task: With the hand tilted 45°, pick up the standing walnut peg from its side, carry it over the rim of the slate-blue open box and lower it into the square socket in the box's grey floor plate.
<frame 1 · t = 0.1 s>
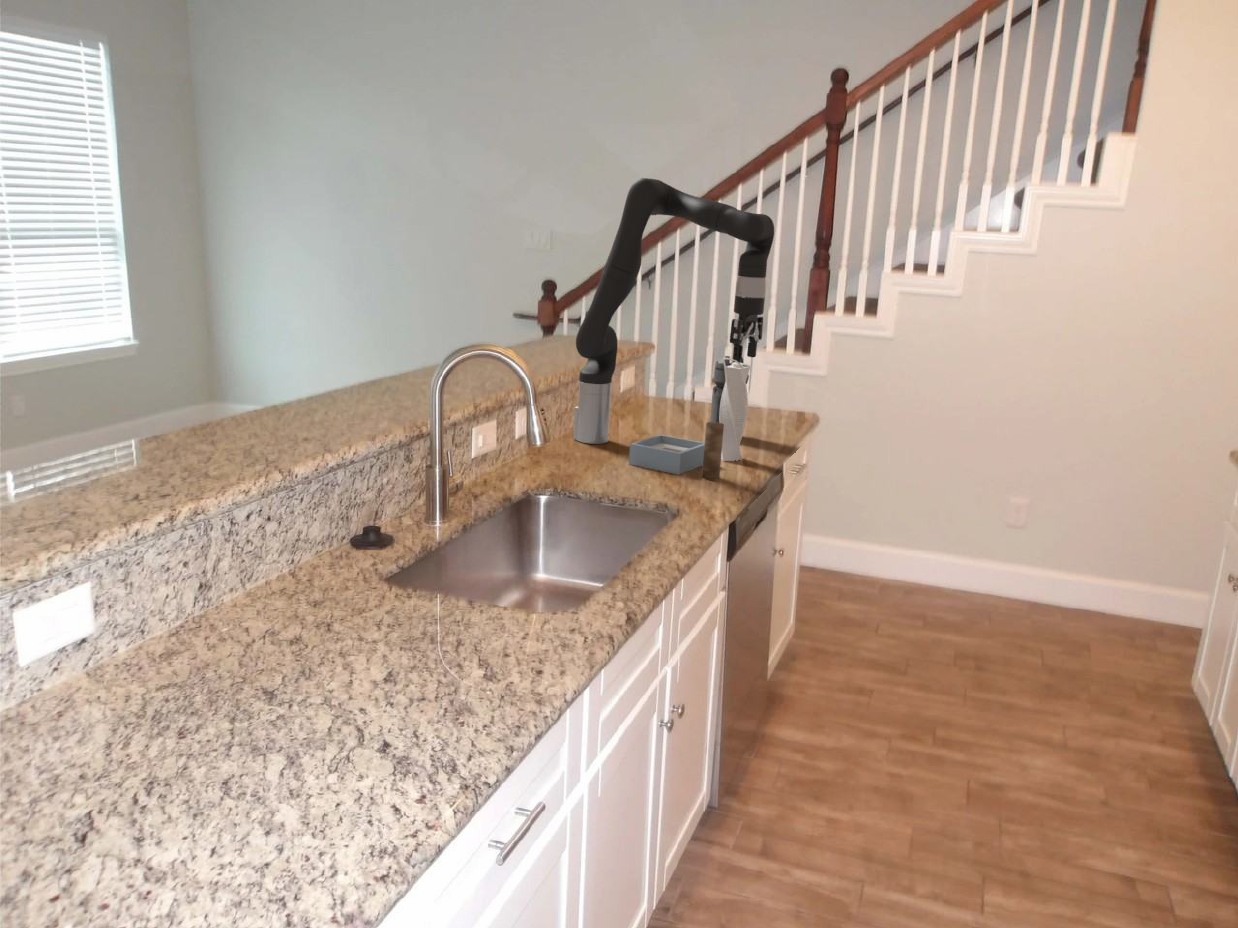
hand: (744, 358, 250), 29 cm above the worktop, tool pointing down, fingers open, 8 cm apart
box: (668, 463, 258), on the worktop
dark tall piece: (726, 437, 296), on the worktop
skyscraper: (728, 459, 268), on the worktop
peg: (710, 477, 247), on the worktop
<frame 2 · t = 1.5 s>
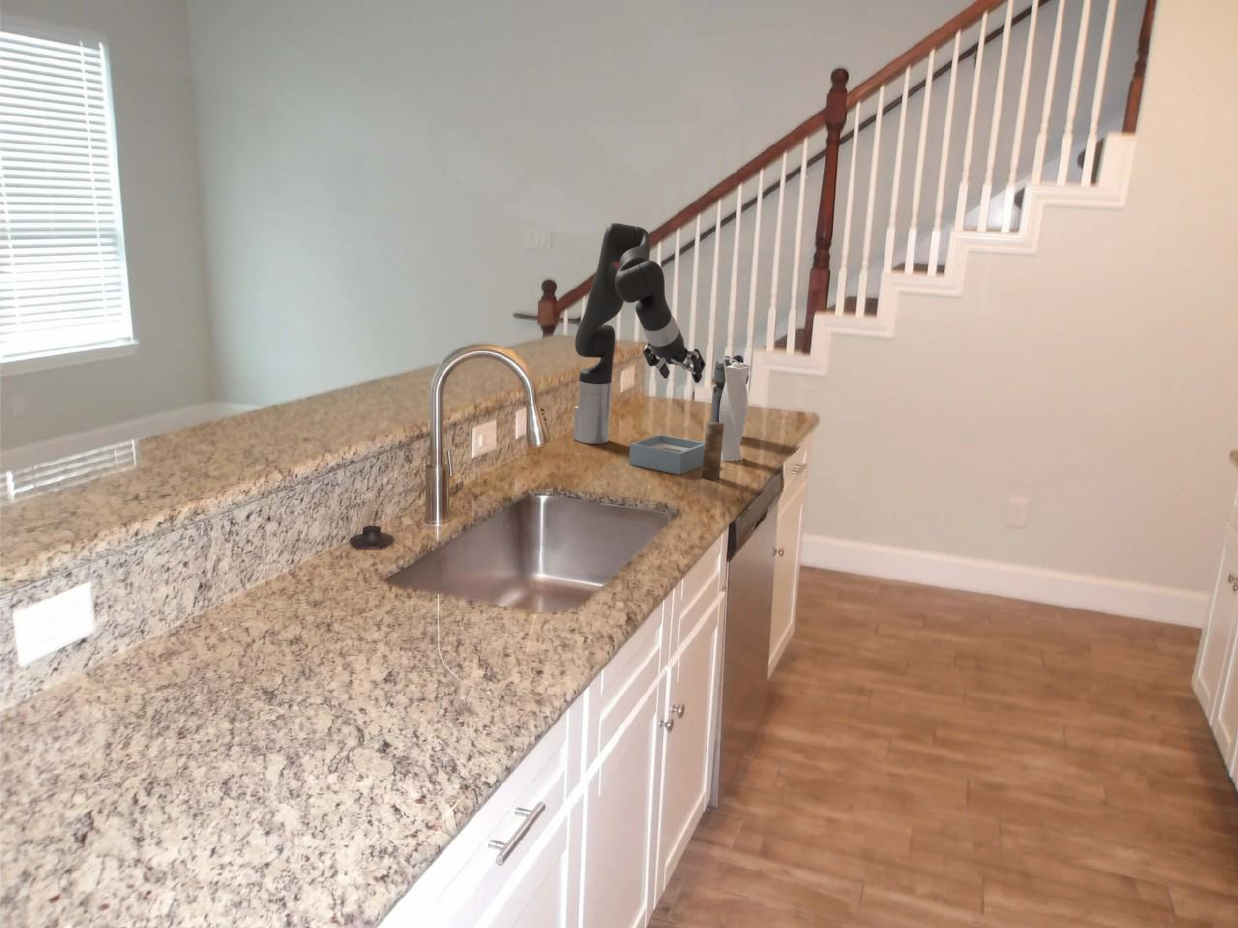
hand: (682, 378, 233), 26 cm above the worktop, tool tilted 45°, fingers open, 8 cm apart
nothing on the worktop moved.
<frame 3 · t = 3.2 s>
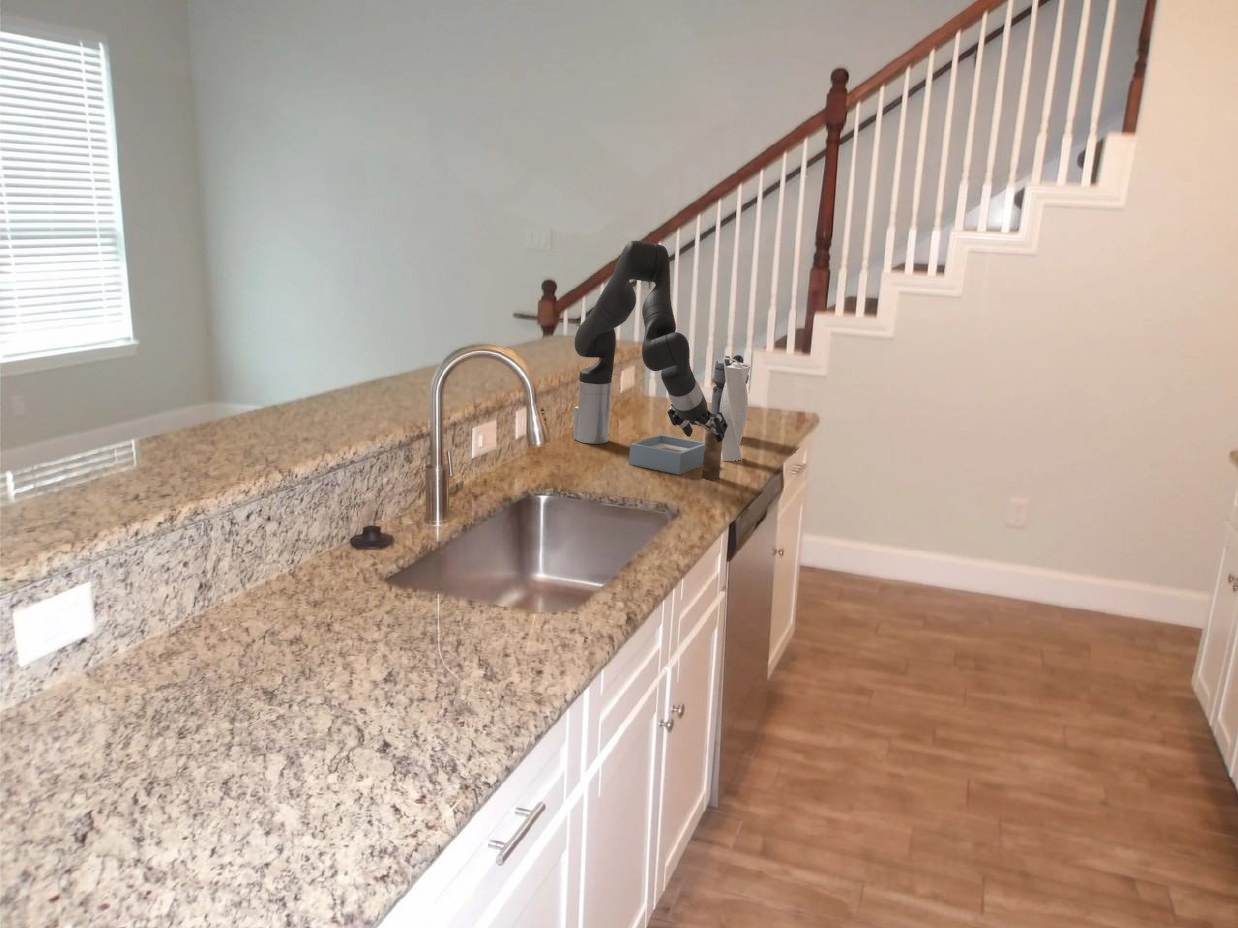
hand: (705, 436, 240), 11 cm above the worktop, tool tilted 45°, fingers open, 8 cm apart
nothing on the worktop moved.
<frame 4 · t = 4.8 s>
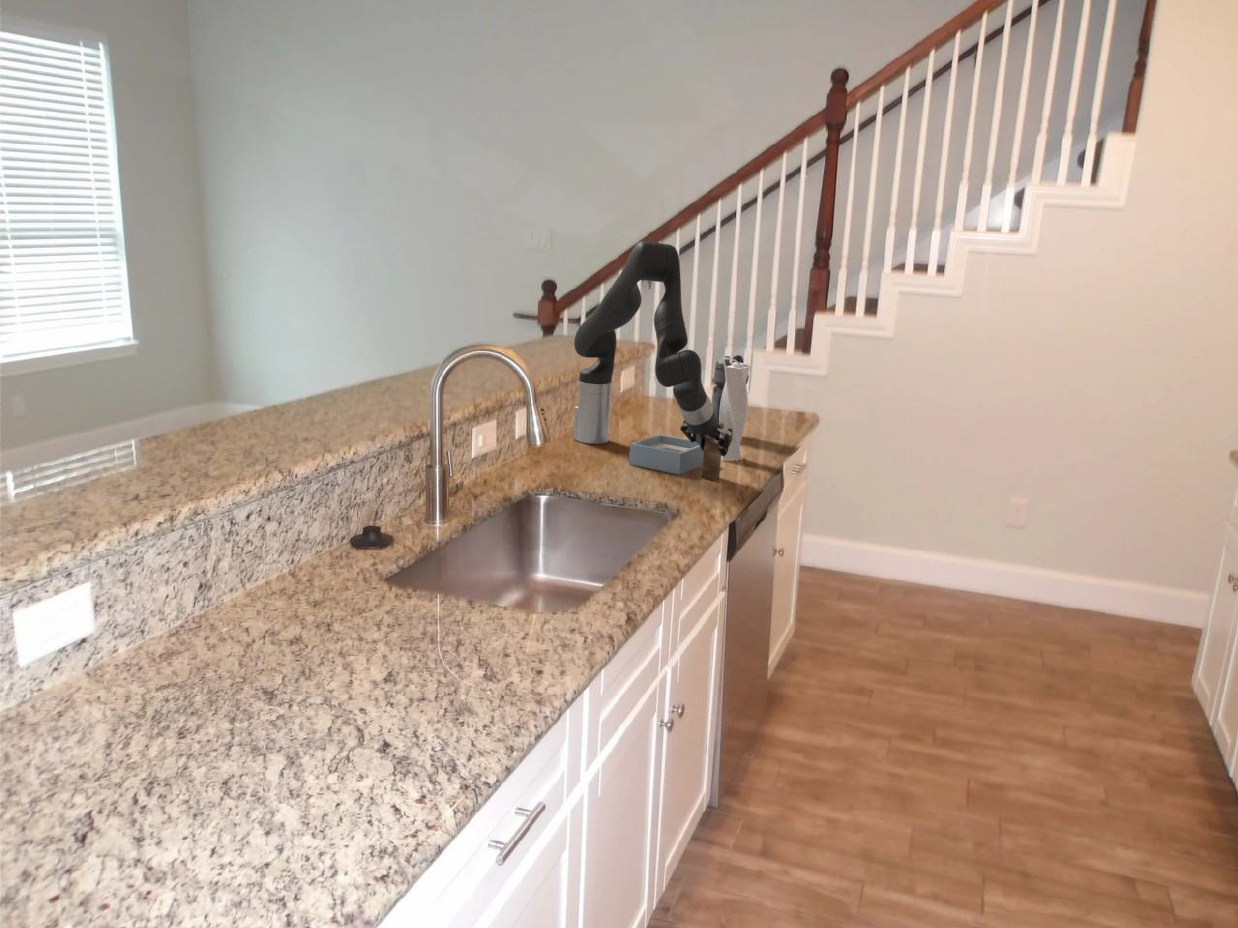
hand: (715, 451, 247), 6 cm above the worktop, tool tilted 45°, fingers closed on peg, 4 cm apart
peg: (710, 477, 247), on the worktop, touching gripper
everything else where it was.
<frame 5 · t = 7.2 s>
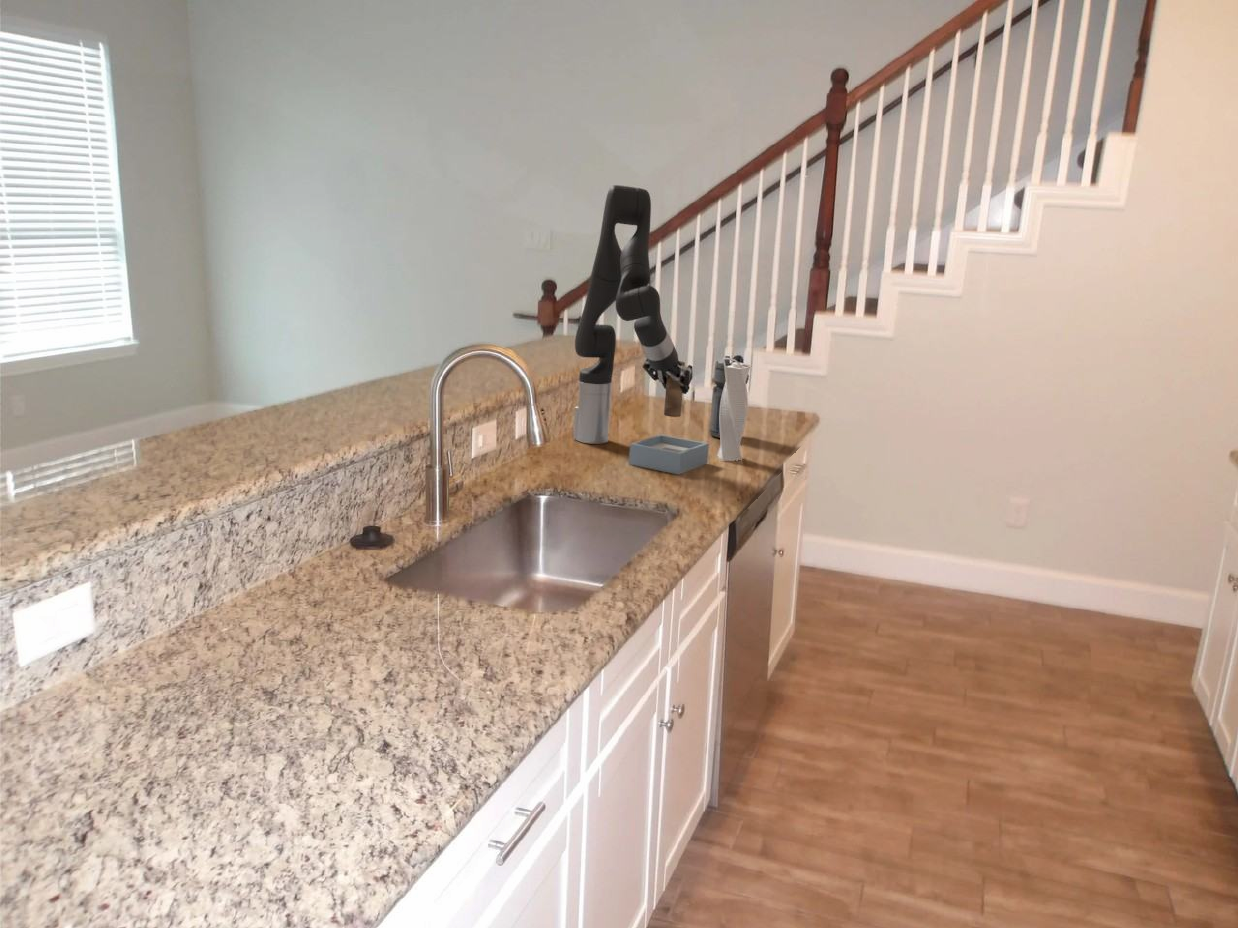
hand: (677, 389, 255), 20 cm above the worktop, tool tilted 45°, fingers closed on peg, 4 cm apart
peg: (672, 415, 255), point 13 cm above the worktop, touching gripper
everything else where it was.
when the fingers open (8 cm above the worktop, at t = 10.0 s): peg drops 1 cm, resting in box.
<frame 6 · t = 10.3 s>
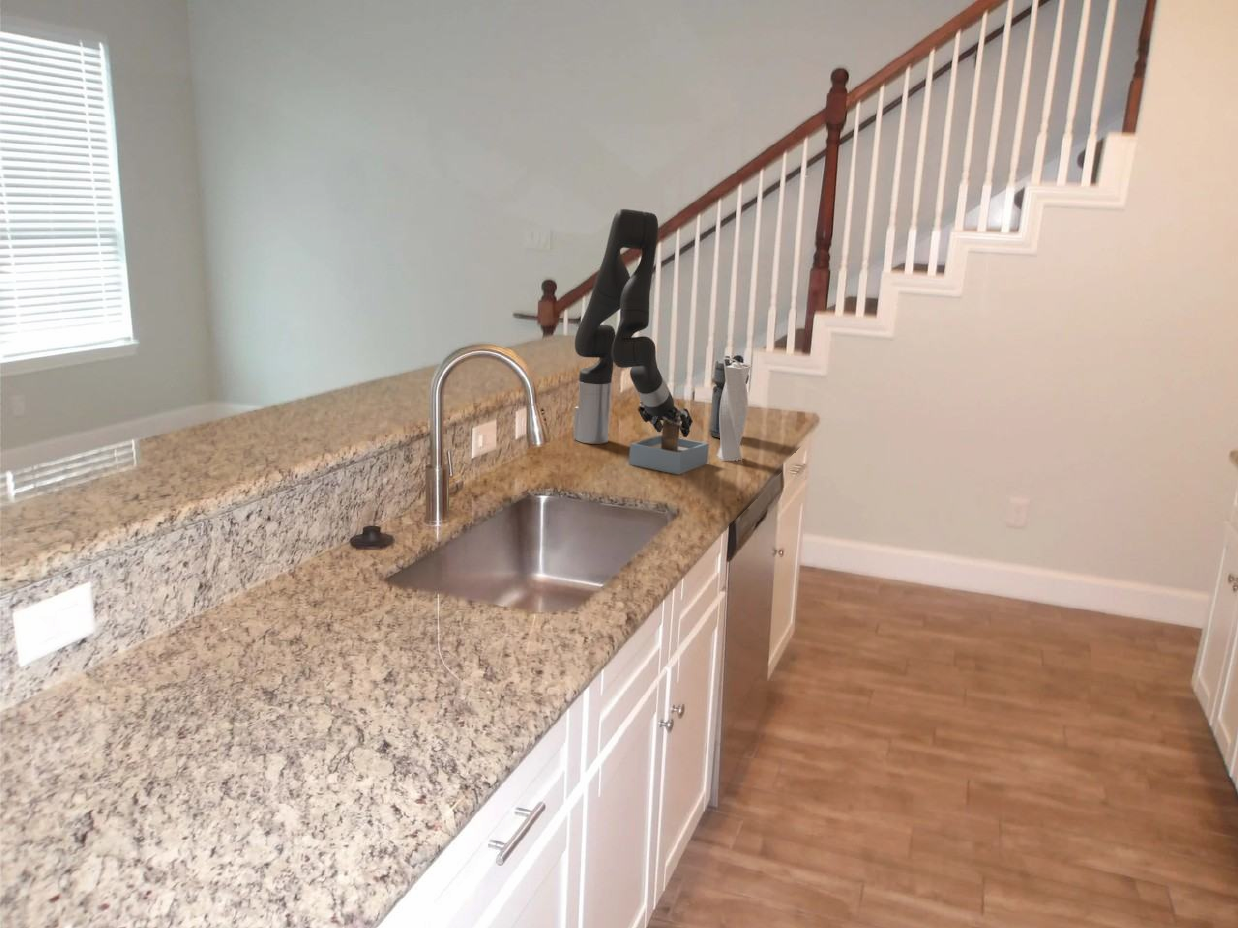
hand: (673, 432, 258), 8 cm above the worktop, tool tilted 45°, fingers open, 7 cm apart
peg: (668, 463, 258), resting in box
everything else where it was.
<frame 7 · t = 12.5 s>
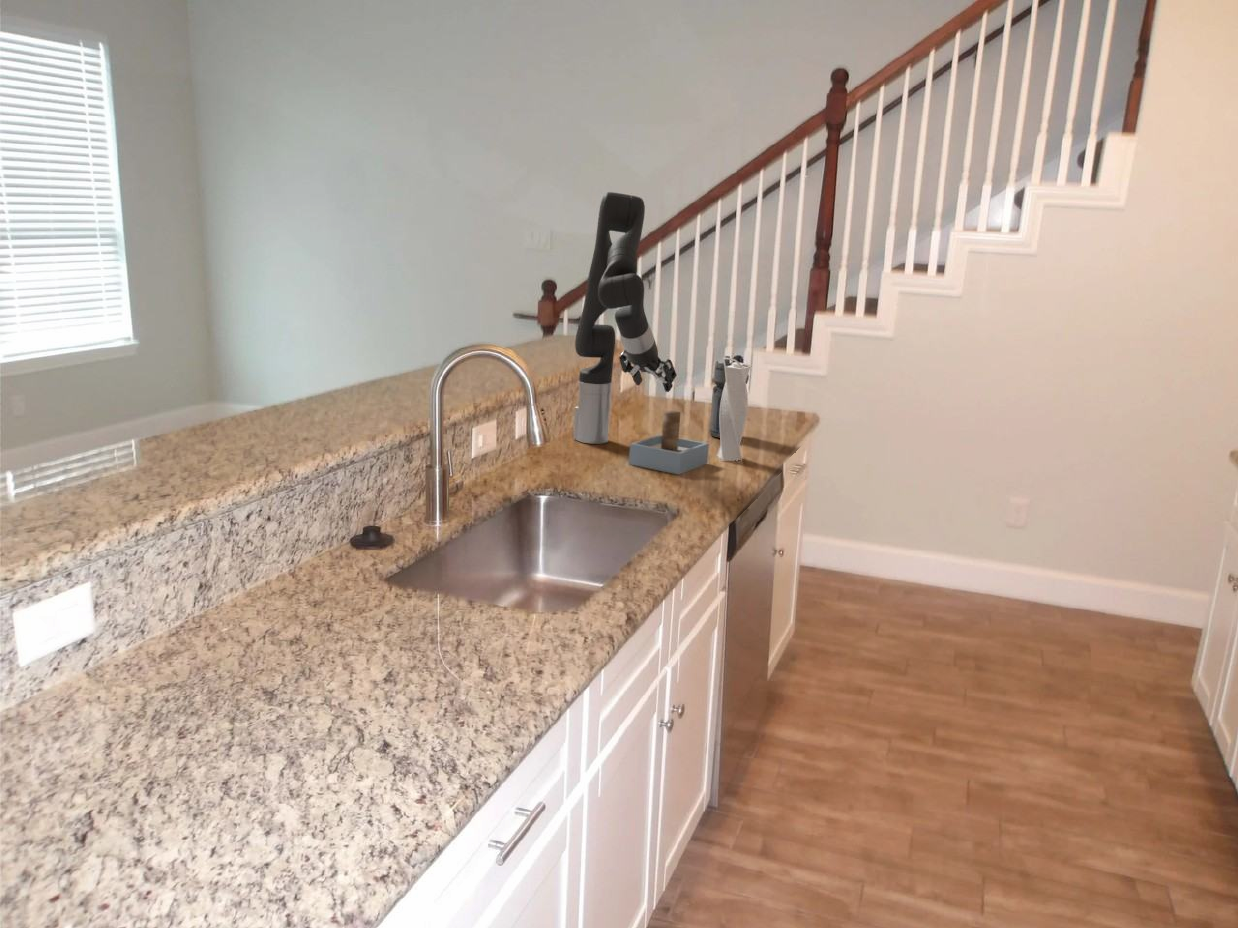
hand: (653, 386, 245), 22 cm above the worktop, tool tilted 40°, fingers open, 8 cm apart
nothing on the worktop moved.
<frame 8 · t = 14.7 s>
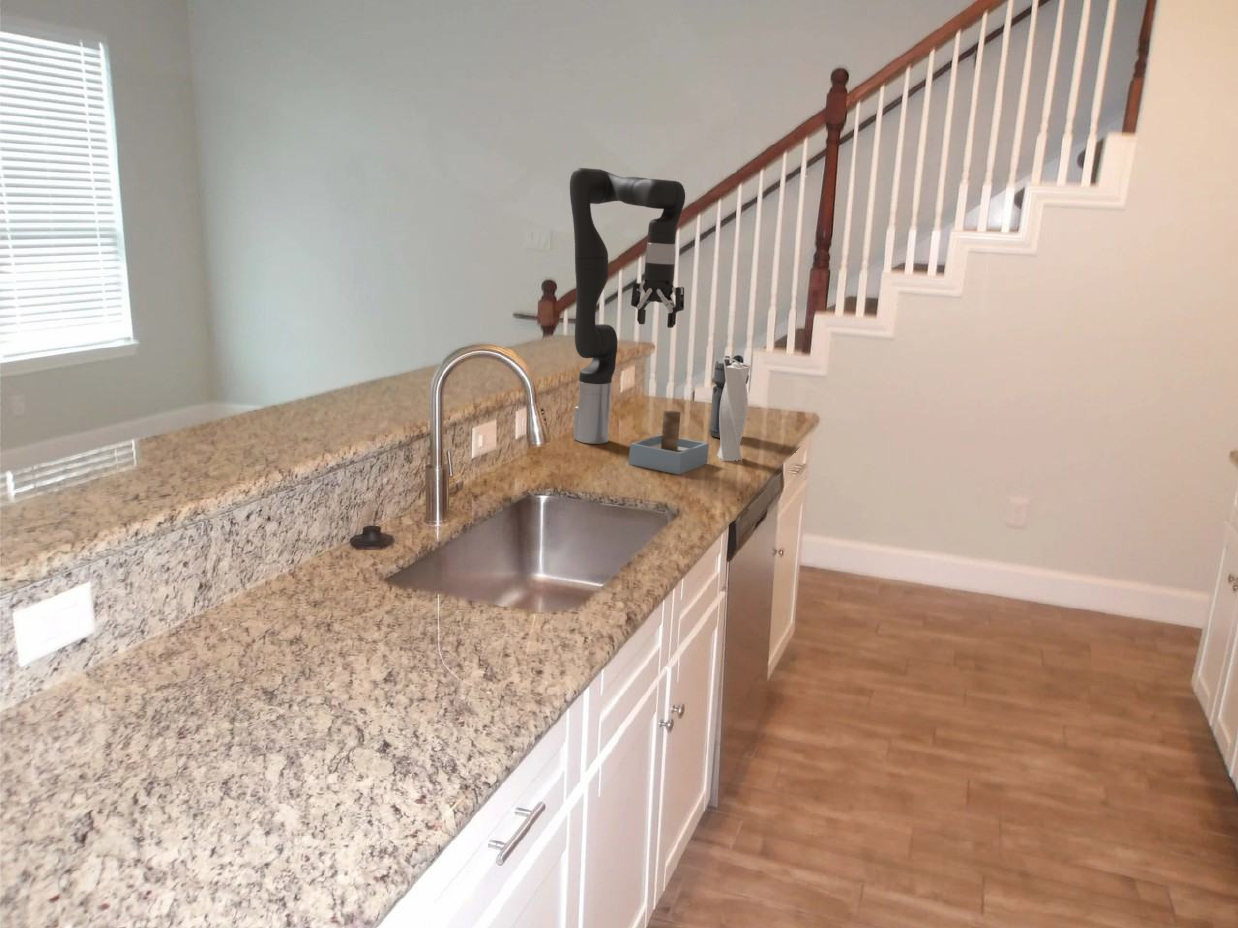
hand: (655, 325, 251), 36 cm above the worktop, tool pointing down, fingers open, 8 cm apart
nothing on the worktop moved.
at the end: peg 0.1 cm off-centre on the box, point 0.0 cm above the box's base; peg tilted 0°; the gripper is holding nothing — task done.
